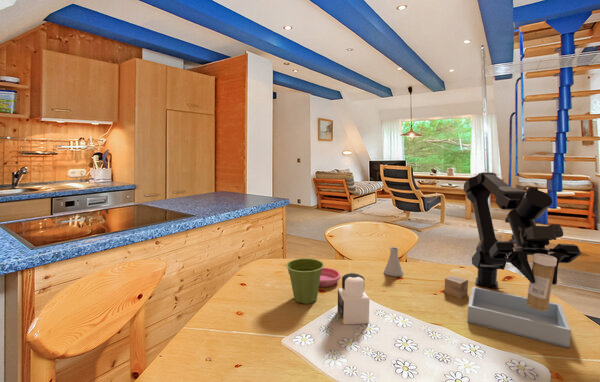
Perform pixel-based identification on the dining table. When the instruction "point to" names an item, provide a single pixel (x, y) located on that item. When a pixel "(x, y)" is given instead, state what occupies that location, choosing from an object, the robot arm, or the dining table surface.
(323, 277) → the saucer
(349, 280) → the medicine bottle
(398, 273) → the flask
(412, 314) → the dining table surface
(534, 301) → the sprinkles bottle
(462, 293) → the walnut cube
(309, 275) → the plant pot
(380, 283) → the dining table surface
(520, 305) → the tray
